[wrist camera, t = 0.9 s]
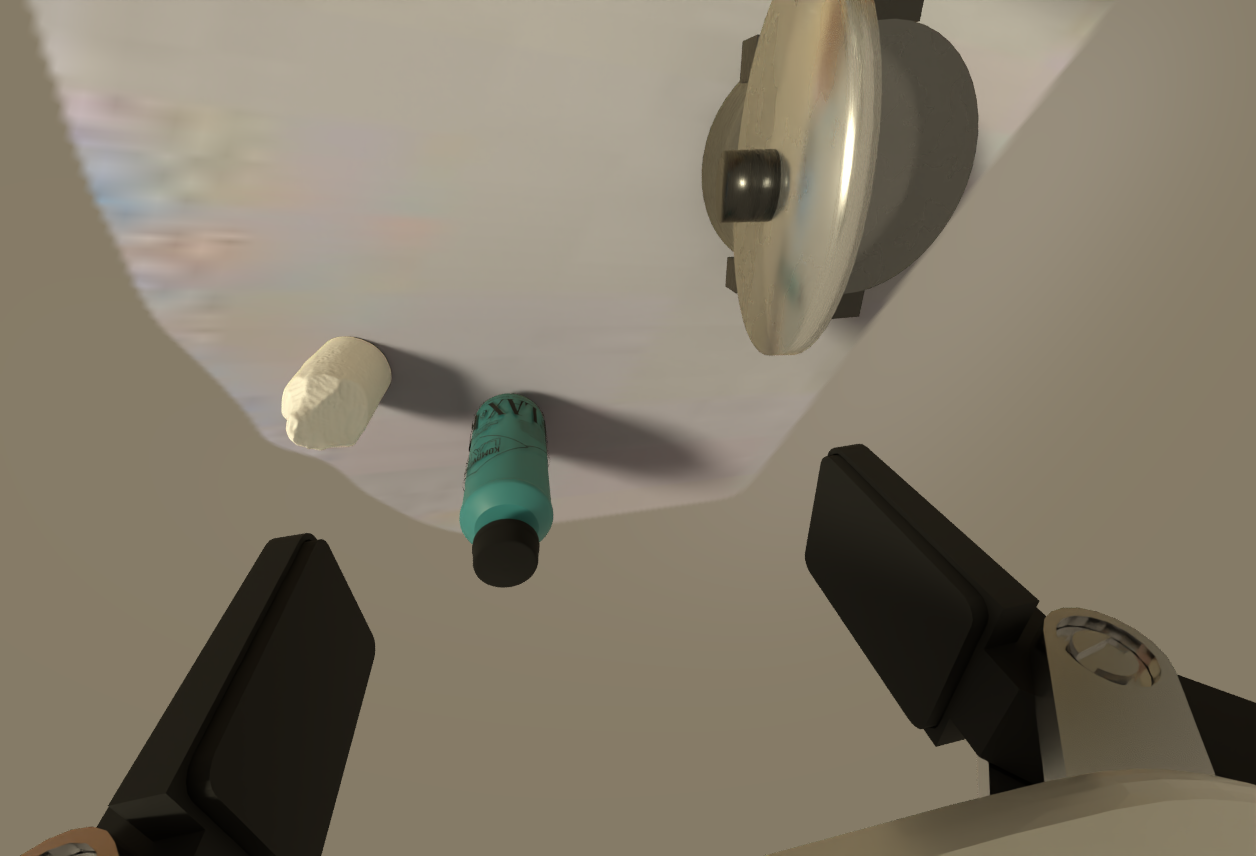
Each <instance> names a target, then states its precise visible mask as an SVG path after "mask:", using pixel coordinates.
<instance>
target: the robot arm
mask: <svg viewBox="0 0 1256 856" xmlns="http://www.w3.org/2000/svg"><path fill="white" fill-rule="evenodd" d="M805 561H806V564H807V567H808V570H809V572H810V573H811V575H812V576H813V578H814V579H815V581H816V582H817V584H818V585H819V587H820V588H821V590H822V591H823V593H824V594H825V596H826V597H827V599H828V600H829V602H830V603H831V605H832V606H833V607H834V609H835V610H836V612H837V613H838V615H839V616H840V618H841V619H842V621H843V622H844V624H845V625H846V627H847V628H848V630H849V631H850V633H851V634H852V636H853V637H854V639H855V640H856V642H857V643H858V645H859V646H860V648H861V649H862V651H863V652H864V654H865V655H866V657H867V658H868V659H869V661H870V663H871V664H872V665H873V667H874V669H875V670H876V671H877V673H878V674H879V676H880V677H881V679H882V680H883V682H884V683H885V685H886V686H887V688H888V689H889V691H890V692H891V694H892V695H893V697H894V698H895V700H896V701H897V703H898V704H899V706H900V707H901V709H902V710H903V712H904V713H905V715H906V716H907V718H908V719H909V720H910V721H911V723H912V724H913V725H914V726H915V727H917V728H919V729H924V730H925V732H926V733H927V735H928V736H929V738H930V739H931V740H932V742H933V743H934V745H935V746H936V747H937V746H940V745H944V744H948V743H952V742H956V741H960V740H964V739H966V740H967V741H968V743H969V744H970V746H971V747H972V748H973V750H974V751H975V752H976V754H977V785H978V798H977V799H974V800H969V801H965V802H961V803H957V804H953V805H949V806H945V807H942V808H938V809H935V810H931V811H927V812H923V813H920V814H916V815H912V816H908V817H905V818H901V819H897V820H894V821H890V822H886V823H883V824H879V825H875V826H872V827H868V828H864V829H861V830H857V831H853V832H849V833H846V834H842V835H838V836H834V837H831V838H827V839H824V840H820V841H816V842H812V843H809V844H805V845H801V846H798V847H794V848H790V849H787V850H783V851H779V852H775V853H772V854H769V855H765V856H1256V703H1254V702H1252V701H1249V700H1246V699H1244V698H1241V697H1238V696H1235V695H1232V694H1229V693H1227V692H1224V691H1221V690H1218V689H1216V688H1213V687H1210V686H1207V685H1204V684H1202V683H1199V682H1196V681H1194V680H1191V679H1188V678H1185V677H1182V676H1180V675H1177V673H1176V671H1175V669H1174V667H1173V666H1172V664H1171V662H1170V661H1169V659H1168V657H1167V656H1166V655H1165V654H1164V653H1163V652H1162V651H1161V650H1160V649H1159V648H1158V647H1157V646H1156V644H1154V643H1153V642H1152V641H1151V640H1150V639H1148V638H1147V637H1146V636H1144V635H1143V634H1141V633H1140V632H1139V631H1137V630H1136V629H1134V628H1132V627H1131V626H1129V625H1127V624H1125V623H1123V622H1121V621H1119V620H1118V619H1116V618H1113V617H1110V616H1108V615H1105V614H1102V613H1100V612H1097V611H1092V610H1087V609H1083V608H1060V609H1057V610H1054V611H1051V612H1050V613H1049V614H1048V615H1047V617H1046V616H1045V615H1044V614H1043V613H1042V612H1041V611H1040V610H1039V609H1038V608H1037V607H1036V606H1037V605H1038V603H1039V600H1038V599H1037V598H1036V597H1034V596H1033V595H1032V594H1031V593H1030V592H1029V591H1028V590H1027V589H1026V588H1024V587H1023V586H1022V585H1021V584H1020V583H1019V582H1018V581H1017V580H1015V579H1014V578H1013V577H1012V576H1011V575H1010V574H1009V573H1008V572H1006V571H1005V570H1004V569H1003V568H1002V567H1001V566H1000V565H998V564H997V563H996V562H995V561H994V560H993V559H992V558H991V557H990V556H989V555H987V554H986V553H985V552H984V551H983V550H982V549H981V548H980V547H978V546H977V545H976V544H975V543H974V542H973V541H972V540H971V539H969V538H968V537H967V536H966V535H965V534H964V533H963V532H962V531H960V530H959V529H958V528H957V527H956V526H955V525H954V524H952V522H950V521H949V520H948V519H947V518H946V517H945V516H944V515H943V514H941V513H940V512H939V511H938V510H937V509H936V508H935V507H934V506H932V505H931V504H930V503H929V502H928V501H927V500H926V499H925V498H923V497H922V496H921V495H920V494H919V493H918V492H917V491H916V490H914V489H913V488H912V487H911V486H910V485H909V484H908V483H907V482H906V481H904V480H903V479H902V478H901V477H900V476H899V475H898V474H897V473H895V472H894V471H893V470H892V469H891V468H890V467H889V466H887V465H886V464H885V463H884V462H883V461H882V460H881V459H879V457H877V456H876V455H875V454H874V453H873V452H872V451H870V449H869V448H867V447H866V446H864V445H863V444H855V445H849V446H843V447H837V448H833V449H831V450H830V451H829V453H828V456H826V457H824V458H823V459H822V461H821V465H820V471H819V477H818V482H817V488H816V494H815V500H814V505H813V511H812V517H811V522H810V528H809V533H808V539H807V546H806V551H805ZM374 656H375V641H374V637H373V635H372V633H371V631H370V629H369V627H368V625H367V623H366V621H365V618H364V616H363V614H362V612H361V610H360V608H359V606H358V604H357V602H356V600H355V598H354V596H353V594H352V592H351V590H350V588H349V586H348V584H347V582H346V580H345V578H344V576H343V574H342V572H341V570H340V568H339V566H338V564H337V562H336V560H335V557H334V555H333V554H332V551H331V549H330V547H329V545H328V544H327V542H326V541H324V540H322V539H320V540H317V539H316V538H315V537H314V536H313V535H312V534H310V533H305V534H299V535H293V536H286V537H280V538H274V539H272V540H270V541H269V542H268V543H267V544H266V546H265V547H264V549H263V550H262V552H261V554H260V555H259V557H258V559H257V560H256V562H255V564H254V565H253V567H252V569H251V571H250V572H249V574H248V575H247V577H246V579H245V580H244V582H243V583H242V585H241V587H240V588H239V590H238V592H237V593H236V595H235V597H234V599H233V600H232V602H231V603H230V605H229V607H228V608H227V610H226V612H225V613H224V615H223V616H222V618H221V620H220V621H219V623H218V625H217V627H216V628H215V630H214V631H213V633H212V635H211V636H210V638H209V640H208V641H207V643H206V645H205V646H204V648H203V650H202V651H201V653H200V655H199V656H198V658H197V659H196V661H195V663H194V665H193V666H192V668H191V670H190V671H189V673H188V674H187V676H186V678H185V679H184V681H183V683H182V684H181V686H180V688H179V689H178V691H177V693H176V694H175V696H174V698H173V699H172V701H171V703H170V704H169V706H168V707H167V709H166V711H165V712H164V714H163V716H162V717H161V719H160V721H159V722H158V724H157V726H156V728H155V729H154V731H153V732H152V734H151V736H150V737H149V739H148V740H147V742H146V744H145V746H144V747H143V749H142V750H141V752H140V754H139V755H138V757H137V759H136V760H135V762H134V764H133V765H132V767H131V769H130V770H129V772H128V774H127V775H126V777H125V778H124V780H123V782H122V783H121V785H120V787H119V789H118V790H117V792H116V793H115V795H114V797H113V798H112V800H111V802H110V803H109V805H108V806H109V807H108V809H107V811H106V812H105V814H104V816H103V817H102V819H101V821H100V822H99V824H98V826H97V827H85V828H78V829H72V830H69V831H67V832H64V833H62V834H59V835H57V836H54V837H52V838H49V839H47V840H45V841H43V842H42V843H40V844H38V845H37V846H35V847H34V848H32V849H30V850H29V851H27V852H25V853H24V854H22V855H20V856H321V854H322V851H323V847H324V843H325V839H326V835H327V832H328V828H329V825H330V820H331V817H332V813H333V810H334V806H335V802H336V798H337V795H338V791H339V787H340V784H341V780H342V776H343V772H344V768H345V765H346V761H347V757H348V754H349V750H350V746H351V742H352V739H353V735H354V731H355V728H356V724H357V720H358V716H359V712H360V709H361V705H362V701H363V698H364V694H365V690H366V687H367V683H368V679H369V675H370V672H371V668H372V664H373V660H374Z"/></svg>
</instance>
